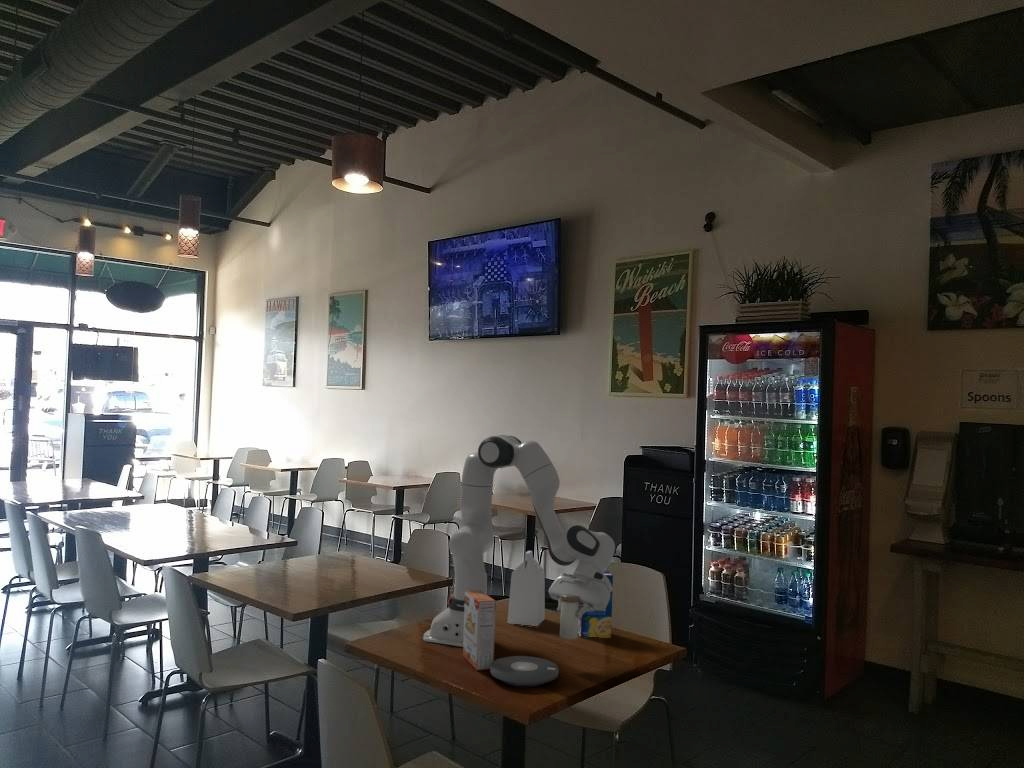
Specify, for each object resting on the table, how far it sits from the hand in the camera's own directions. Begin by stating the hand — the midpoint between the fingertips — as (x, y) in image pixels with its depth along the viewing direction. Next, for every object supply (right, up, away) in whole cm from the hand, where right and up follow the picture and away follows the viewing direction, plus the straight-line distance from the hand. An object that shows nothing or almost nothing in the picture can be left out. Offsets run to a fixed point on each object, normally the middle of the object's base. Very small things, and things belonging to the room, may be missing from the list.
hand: (568, 614), depth 235 cm
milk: (-12, -19, +51) cm, 56 cm away
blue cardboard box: (+12, -19, +36) cm, 42 cm away
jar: (0, -7, 0) cm, 7 cm away
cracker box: (-28, -16, 0) cm, 32 cm away
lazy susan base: (-14, -15, -12) cm, 24 cm away
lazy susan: (-14, -13, -12) cm, 23 cm away
